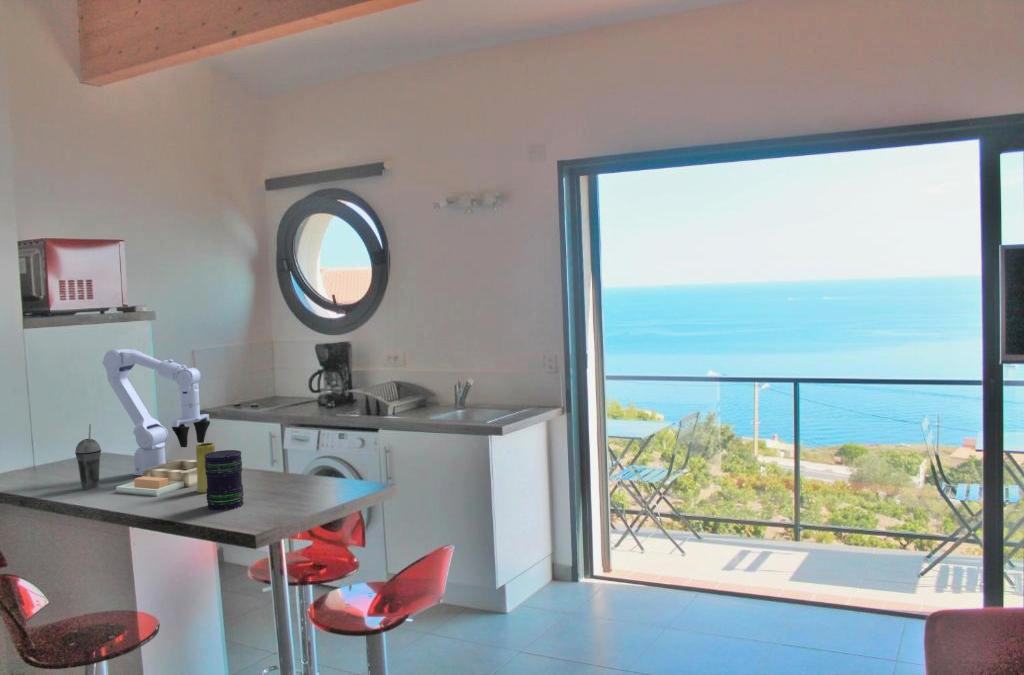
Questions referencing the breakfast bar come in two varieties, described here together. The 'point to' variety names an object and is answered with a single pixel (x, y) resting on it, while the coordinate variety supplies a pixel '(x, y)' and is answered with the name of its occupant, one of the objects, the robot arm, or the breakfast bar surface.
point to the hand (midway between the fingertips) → (192, 444)
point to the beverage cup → (88, 462)
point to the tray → (132, 489)
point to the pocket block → (175, 471)
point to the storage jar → (224, 480)
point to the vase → (202, 465)
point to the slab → (150, 482)
